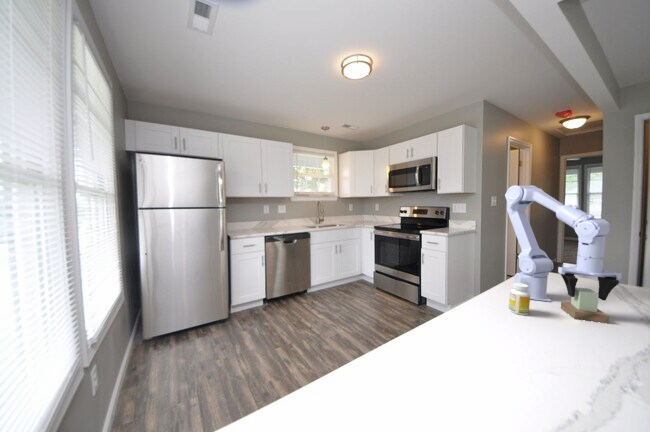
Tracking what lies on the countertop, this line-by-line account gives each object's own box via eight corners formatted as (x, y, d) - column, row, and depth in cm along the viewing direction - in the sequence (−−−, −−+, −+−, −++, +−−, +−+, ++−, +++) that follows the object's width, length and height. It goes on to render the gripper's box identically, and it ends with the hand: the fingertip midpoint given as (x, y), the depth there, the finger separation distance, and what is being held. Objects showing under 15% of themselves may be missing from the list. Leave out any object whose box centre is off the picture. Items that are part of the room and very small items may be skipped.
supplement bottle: (506, 311, 84) (508, 284, 83) (511, 306, 87) (512, 280, 86) (526, 317, 79) (528, 288, 78) (530, 312, 83) (532, 284, 82)
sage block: (578, 309, 79) (580, 292, 78) (570, 304, 83) (572, 287, 82) (597, 312, 77) (598, 293, 77) (588, 306, 81) (589, 288, 81)
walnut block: (574, 320, 78) (575, 311, 78) (560, 309, 86) (561, 301, 85) (607, 325, 75) (608, 315, 75) (590, 313, 83) (591, 304, 82)
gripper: (567, 257, 77) (564, 299, 78) (631, 262, 72) (626, 306, 73) (556, 252, 84) (553, 290, 85) (613, 256, 78) (609, 297, 80)
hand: (586, 297), depth 79 cm, fingers open, 7 cm apart
